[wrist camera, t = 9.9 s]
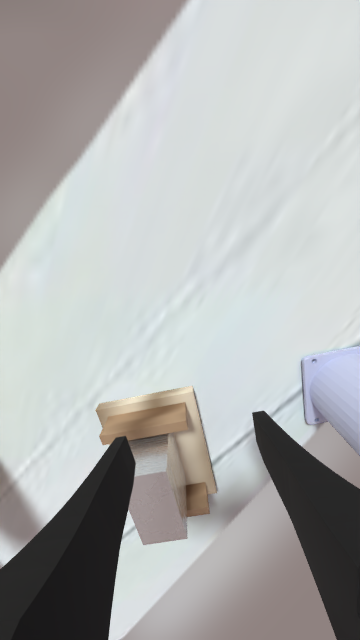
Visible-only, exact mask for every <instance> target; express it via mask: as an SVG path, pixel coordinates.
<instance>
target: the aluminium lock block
mask: <svg viewBox="0 0 360 640" xmlns="http://www.w3.org/2000/svg"><path fill="white" fill-rule="evenodd" d="M128 443H129V445H130V448H131V451H132V454H133V456H134V459H135V462H136V466H135V476H134V484H133V489H132V494H131V498H130V503H129V507H128V509H129V511H130V514H131V516H132V519H133V521H134V523H135V526H136V528H137V531H138V533H139V536H140V538H141V541H142V543H143V545H147V544H154V543H161V542H167V541H174V540H181V539H187V506H186V476H185V472H184V468H183V465H182V461H181V458H180V454H179V451H178V447H177V444H176V440H175V437H174V433H167V434H162V435H156V436H150V437H145V438H139V439H134V440H128Z"/></svg>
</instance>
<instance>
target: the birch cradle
mask: <svg viewBox="0 0 360 640" xmlns="http://www.w3.org/2000/svg"><path fill="white" fill-rule="evenodd" d="M96 412H97V415H98V417H99V420H100V422H101V425H102V427H103V429H102V432H101V434H100V436H99V437H100V439H101V442H102V444H103V445H106V444H109V445H111V443H112V442H113V441H114V439H115V438H116V437H122V436H126V437H127V440H134V439H139V438H145V437H150V436H156V435H162V434H167V433H174V437H175V440H176V444H177V447H178V451H179V454H180V458H181V461H182V465H183V468H184V472H185V476H186V506H187V517H191V516H197V515H203V514H210V511H209V503H208V494H214V493H217V491H216V485H215V481H214V476H213V472H212V468H211V463H210V459H209V455H208V451H207V446H206V442H205V438H204V433H203V429H202V425H201V421H200V416H199V412H198V408H197V403H196V399H195V395H194V391H193V386H189V387H184V388H178V389H173V390H168V391H163V392H158V393H152V394H147V395H142V396H137V397H132V398H126V399H121V400H116V401H111V402H106V403H100V404H99V405H98V407H97V409H96Z"/></svg>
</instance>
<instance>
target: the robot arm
mask: <svg viewBox="0 0 360 640" xmlns="http://www.w3.org/2000/svg"><path fill="white" fill-rule="evenodd" d="M313 359H314V361H313V362H312V360H313ZM302 374H303V390H304V406H305V420H306V422H307V423H308V424H318V423H323V422H329V423H330V424H331V425H332V426H333V427H334V428H335V429H336V430H337V432H338V433H339V434H340V435H341V436H342V437H343V438H344V439H345V440H346V441H347V443H348V444H349V445H350V446H351V447H352V448H353V449H354V450H355V451H356V452H357V453H358V455H359V456H360V346H356V347H351V348H346V349H341V350H336V351H331V352H326V353H320V354H315V355H310V356H306V357H304V358H303V359H302ZM252 414H253V421H254V428H255V435H256V441H257V444H258V447H259V450H260V453H261V456H262V458H263V461H264V463H265V465H266V468H267V470H268V472H269V474H270V476H271V478H272V480H273V482H274V484H275V486H276V489H277V490H278V493H279V495H280V497H281V499H282V501H283V503H284V505H285V507H286V509H287V511H288V514H289V516H290V518H291V521H292V523H293V525H294V528H295V530H296V533H297V535H298V538H299V540H300V543H301V546H302V548H303V551H304V553H305V556H306V559H307V561H308V564H309V566H310V569H311V572H312V574H313V577H314V579H315V582H316V585H317V587H318V590H319V593H320V595H321V598H322V601H323V603H324V606H325V609H326V611H327V614H328V617H329V619H330V622H331V625H332V627H333V630H334V633H335V636H336V639H337V640H360V489H359V488H357V487H355V486H354V485H353V484H351V483H349V482H348V481H347V480H345V479H344V478H342V477H340V476H339V475H338V474H336V473H335V472H333V471H332V470H331V469H329V468H328V467H327V466H325V465H324V464H323V463H321V462H320V461H319V460H317V459H316V458H315V457H314V456H312V455H311V454H310V453H309V452H307V451H306V450H305V449H304V448H303V447H302V446H300V445H299V444H298V443H297V442H296V441H295V440H294V439H292V438H291V437H290V436H289V435H288V434H287V433H286V432H285V431H284V430H283V429H282V428H281V427H280V426H279V425H277V424H276V423H275V422H274V421H273V419H272V418H271V417H270V416H269V415H268V414H267V413H266V412H265V411H259V412H254V413H252ZM135 466H136V462H135V459H134V456H133V454H132V451H131V448H130V445H129V443H128V440H127V437H126V436H122V437H116V438H115V439H114V441H113V442H112V443H111V445H110V446H109V448H108V449H107V450H106V452H105V453H104V455H103V456H102V458H101V459H100V460H99V462H98V463H97V464H96V466H95V467H94V469H93V470H92V471H91V473H90V474H89V475H88V477H87V478H86V479H85V480H84V482H83V483H82V484H81V486H80V487H79V488H78V489H77V491H76V492H75V493H74V494H73V496H72V497H71V498H70V499H69V500H68V502H67V503H66V504H65V505H64V506H63V507H62V509H61V510H60V511H59V512H58V513H57V514H56V515H55V516H54V517H53V519H52V520H51V521H50V522H49V523H48V524H47V525H46V526H45V527H44V528H43V529H42V530H41V531H40V532H39V533H38V534H37V535H36V536H35V537H34V538H33V539H32V540H31V541H30V542H29V543H28V544H27V545H26V546H25V547H24V548H23V549H22V550H21V551H20V552H19V553H18V554H17V555H16V556H14V557H13V558H12V559H11V560H10V561H9V562H8V563H7V564H6V565H5V566H4V567H2V568H1V569H0V640H108V636H109V627H110V618H111V609H112V601H113V593H114V586H115V578H116V571H117V564H118V557H119V550H120V545H121V539H122V534H123V530H124V525H125V521H126V516H127V512H128V507H129V503H130V498H131V494H132V489H133V484H134V476H135Z"/></svg>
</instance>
